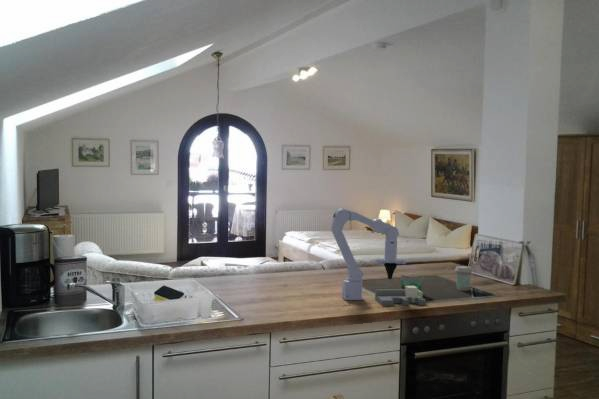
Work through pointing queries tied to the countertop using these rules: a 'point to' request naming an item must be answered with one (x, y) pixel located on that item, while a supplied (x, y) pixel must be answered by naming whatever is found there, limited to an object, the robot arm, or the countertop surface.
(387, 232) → the robot arm
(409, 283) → the food container
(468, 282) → the coffee cup
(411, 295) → the cream block
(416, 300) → the trap board
